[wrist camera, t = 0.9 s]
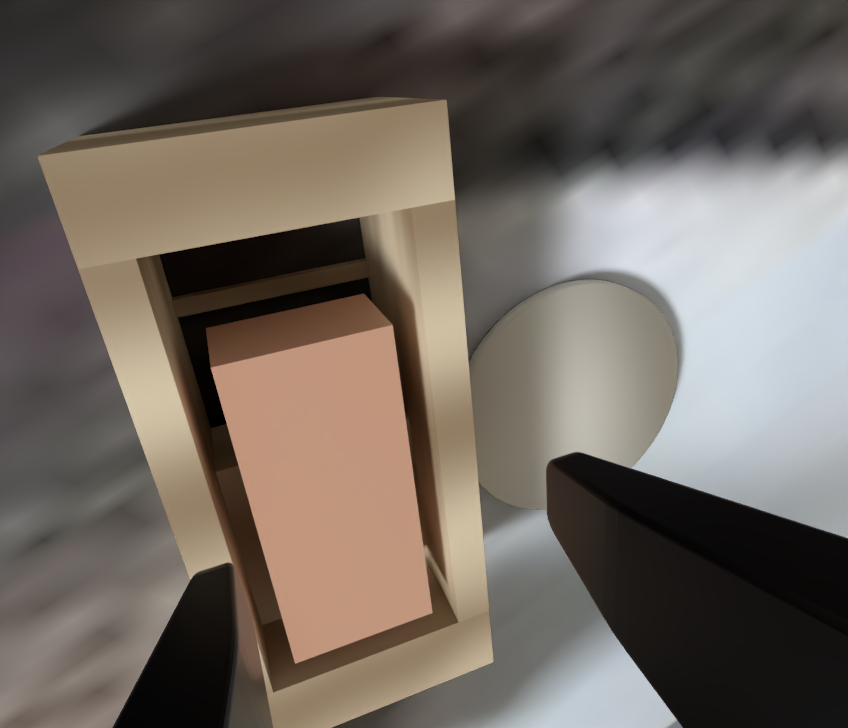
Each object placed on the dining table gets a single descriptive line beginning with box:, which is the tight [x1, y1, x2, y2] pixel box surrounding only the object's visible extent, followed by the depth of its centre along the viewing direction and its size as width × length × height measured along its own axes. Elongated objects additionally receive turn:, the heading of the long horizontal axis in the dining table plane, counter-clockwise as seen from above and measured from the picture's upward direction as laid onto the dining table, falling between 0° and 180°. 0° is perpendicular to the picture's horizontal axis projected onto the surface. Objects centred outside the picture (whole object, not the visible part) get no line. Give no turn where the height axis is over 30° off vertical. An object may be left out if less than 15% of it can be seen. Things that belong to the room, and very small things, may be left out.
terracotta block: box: [206, 294, 432, 664], centre depth 17 cm, size 9×4×2 cm, turn 6°
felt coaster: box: [469, 279, 678, 510], centre depth 23 cm, size 9×9×1 cm
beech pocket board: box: [38, 97, 493, 728], centre depth 17 cm, size 16×8×5 cm, turn 6°
